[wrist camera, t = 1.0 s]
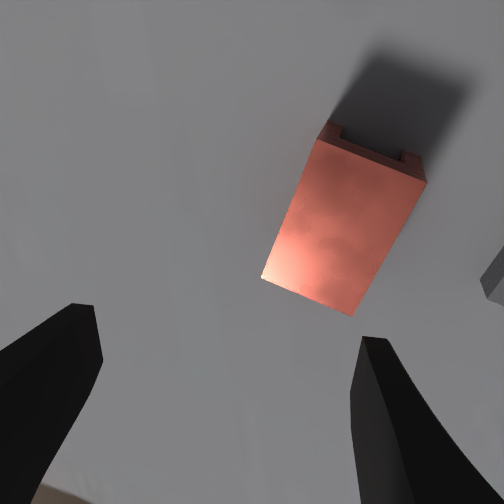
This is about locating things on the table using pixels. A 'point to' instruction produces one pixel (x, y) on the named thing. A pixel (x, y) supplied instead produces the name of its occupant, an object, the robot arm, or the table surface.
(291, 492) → the table surface
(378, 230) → the red notched block
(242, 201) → the table surface
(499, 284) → the coupler
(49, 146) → the table surface
